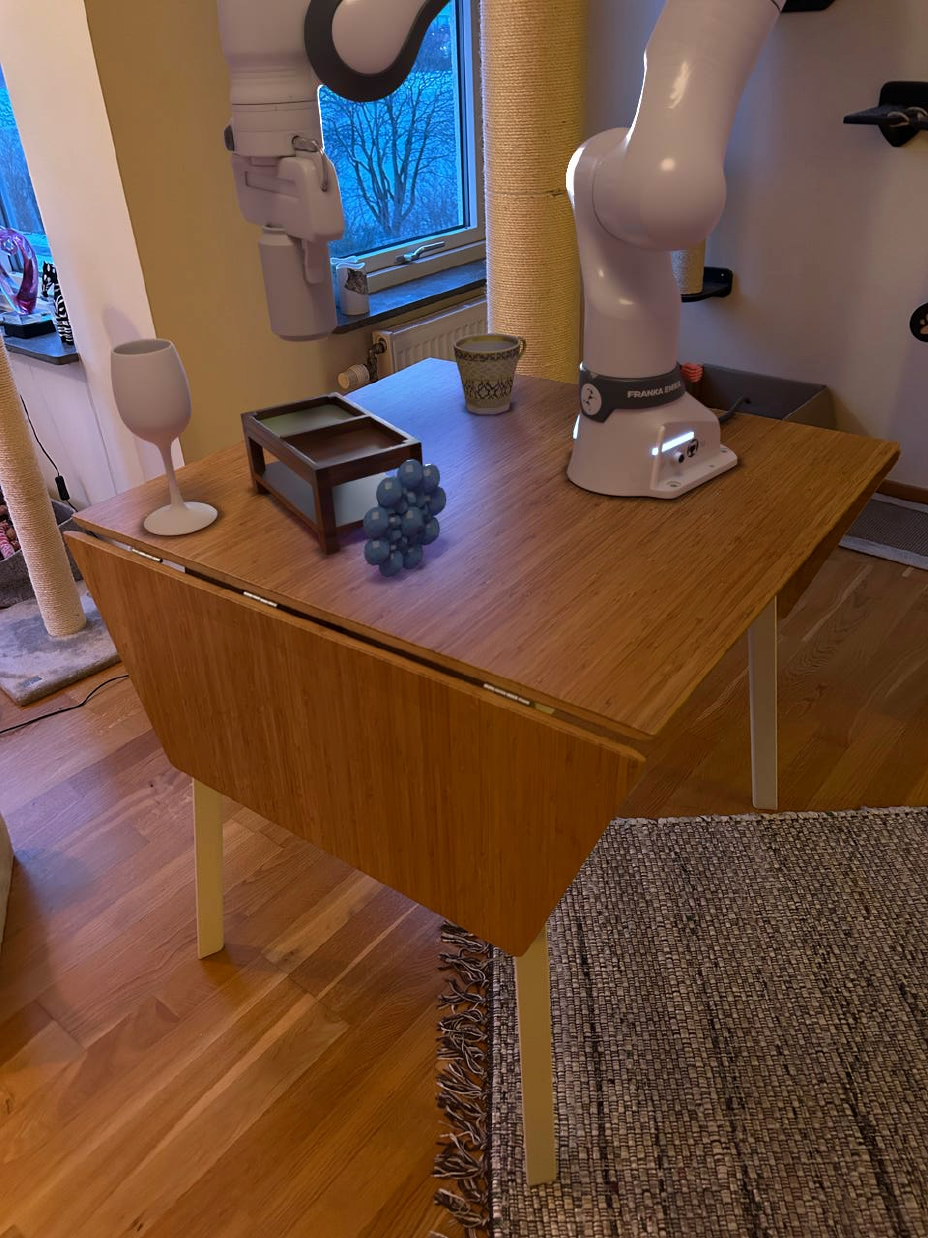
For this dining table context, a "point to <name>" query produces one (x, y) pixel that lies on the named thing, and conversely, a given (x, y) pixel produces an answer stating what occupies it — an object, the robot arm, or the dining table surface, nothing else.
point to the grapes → (404, 518)
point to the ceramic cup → (488, 370)
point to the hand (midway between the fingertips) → (297, 275)
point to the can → (295, 289)
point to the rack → (325, 460)
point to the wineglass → (158, 420)
